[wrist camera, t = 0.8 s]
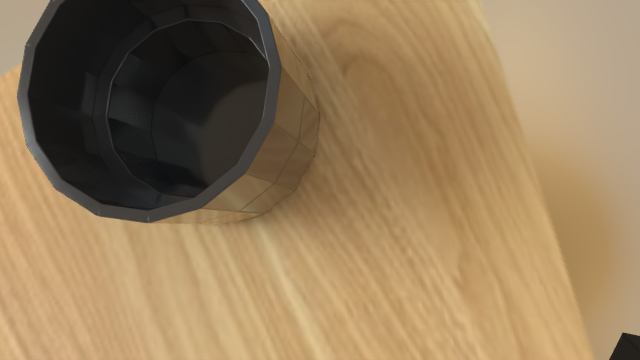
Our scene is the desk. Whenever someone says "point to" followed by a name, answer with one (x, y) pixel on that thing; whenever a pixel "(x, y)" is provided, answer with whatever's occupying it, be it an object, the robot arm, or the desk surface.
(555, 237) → the desk surface
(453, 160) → the desk surface
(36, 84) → the cup
